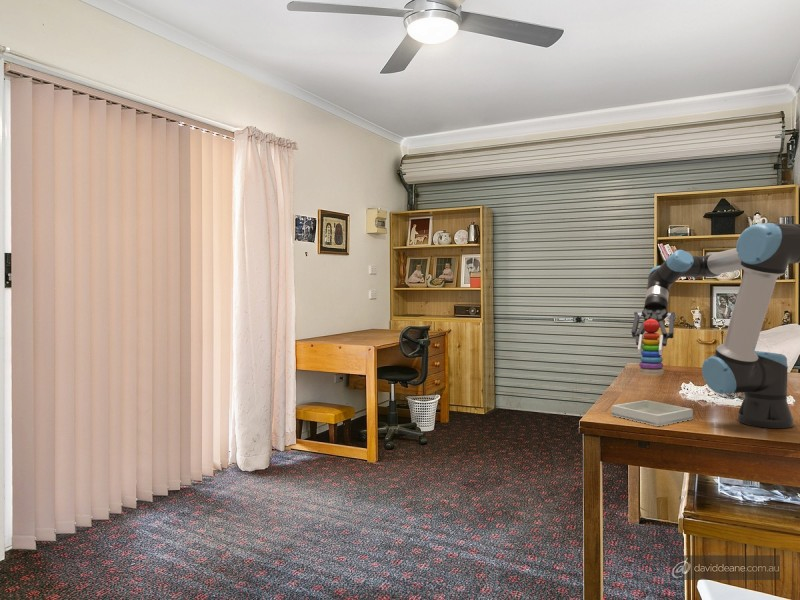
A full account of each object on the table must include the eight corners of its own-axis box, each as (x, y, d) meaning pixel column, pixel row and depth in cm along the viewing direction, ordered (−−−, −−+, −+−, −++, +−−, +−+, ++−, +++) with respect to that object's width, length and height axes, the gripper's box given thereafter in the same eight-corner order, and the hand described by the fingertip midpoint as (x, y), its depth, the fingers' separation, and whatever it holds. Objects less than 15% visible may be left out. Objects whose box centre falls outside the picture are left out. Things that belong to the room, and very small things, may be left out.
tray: (692, 419, 194) (692, 409, 193) (658, 426, 184) (658, 415, 184) (645, 409, 209) (645, 399, 209) (611, 415, 200) (611, 405, 200)
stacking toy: (666, 375, 195) (665, 319, 194) (640, 375, 197) (640, 319, 196) (661, 372, 202) (660, 318, 202) (637, 371, 204) (636, 318, 204)
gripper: (686, 309, 207) (681, 360, 194) (630, 308, 217) (621, 357, 203) (684, 294, 203) (679, 346, 189) (627, 294, 212) (618, 343, 199)
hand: (649, 351), depth 196 cm, fingers closed on stacking toy, 6 cm apart
